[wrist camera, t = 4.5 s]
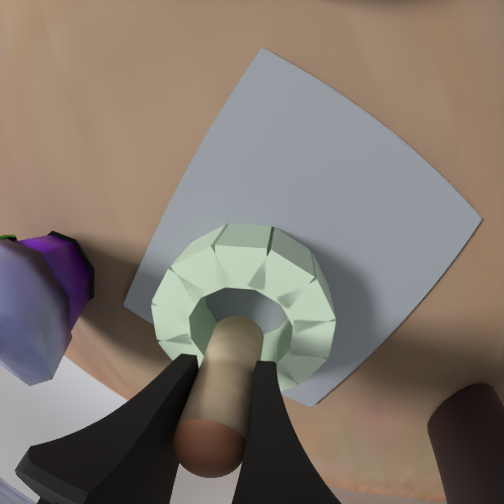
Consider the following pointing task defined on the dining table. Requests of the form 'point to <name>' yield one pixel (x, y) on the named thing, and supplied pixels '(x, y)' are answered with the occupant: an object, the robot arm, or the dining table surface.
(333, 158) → the mat
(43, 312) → the potion bottle
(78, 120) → the dining table surface
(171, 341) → the bead
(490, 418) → the vinegar
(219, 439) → the wooden dowel
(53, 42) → the dining table surface
